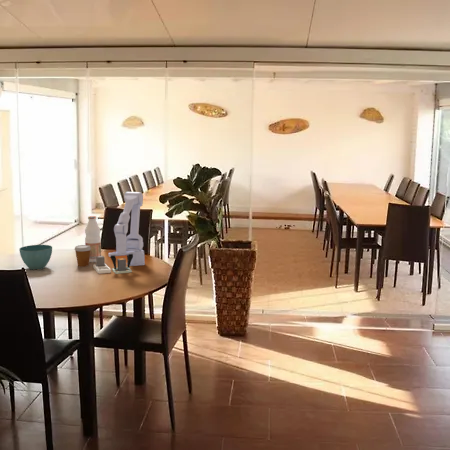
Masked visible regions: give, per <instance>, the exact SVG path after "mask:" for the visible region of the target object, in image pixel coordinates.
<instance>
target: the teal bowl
mask: <svg viewBox="0 0 450 450" xmlns="http://www.w3.org/2000/svg"><path fill="white" fill-rule="evenodd" d="M52 254H53V246H52V245H50V244H49V245H48V244H31V245H26V246H22V247H20V248H19V256H20V258H21V260H22V262H23V263H24V265H25V266H26V267H27V268H28V269H29V270H32V269H39V270H43V269H45V268H46V267H47V266H48V264H49V262H50V261H51V257H52Z"/></svg>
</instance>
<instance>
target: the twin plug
mask: <svg viewBox="0 0 450 450" xmlns="http://www.w3.org/2000/svg"><path fill="white" fill-rule="evenodd" d="M105 263H106V262H105V256H104V255H101V256H96V262H95V264H96V265H97V267H98V266H105Z"/></svg>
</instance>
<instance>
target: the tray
mask: <svg viewBox="0 0 450 450" xmlns="http://www.w3.org/2000/svg"><path fill="white" fill-rule="evenodd" d="M111 271H112V272H113V273H114V274H116V275H117V274H118V275H119V274H128V273H133V271H132V269H131V267H130V268H128V267H127V266H126V271H118V267H116V269H114V267H113V268H111Z"/></svg>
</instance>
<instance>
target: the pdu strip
mask: <svg viewBox="0 0 450 450" xmlns="http://www.w3.org/2000/svg"><path fill="white" fill-rule="evenodd" d="M92 267H93V269H94V270H95V271H96V273H97V274H99V275H100V274H111V273H112V268H111V267H109V266H108V264H106V262H105V266H98V267H97V265H96V263H94V264H93V266H92Z"/></svg>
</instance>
